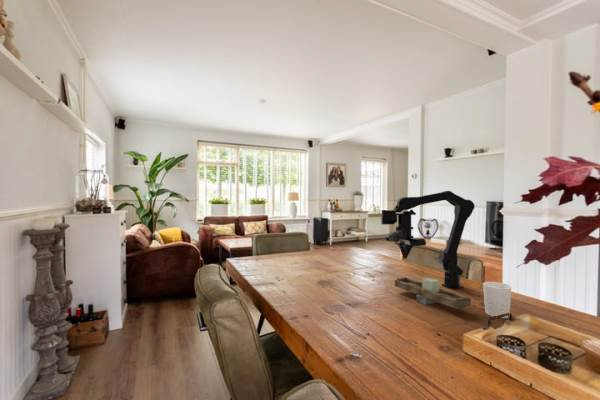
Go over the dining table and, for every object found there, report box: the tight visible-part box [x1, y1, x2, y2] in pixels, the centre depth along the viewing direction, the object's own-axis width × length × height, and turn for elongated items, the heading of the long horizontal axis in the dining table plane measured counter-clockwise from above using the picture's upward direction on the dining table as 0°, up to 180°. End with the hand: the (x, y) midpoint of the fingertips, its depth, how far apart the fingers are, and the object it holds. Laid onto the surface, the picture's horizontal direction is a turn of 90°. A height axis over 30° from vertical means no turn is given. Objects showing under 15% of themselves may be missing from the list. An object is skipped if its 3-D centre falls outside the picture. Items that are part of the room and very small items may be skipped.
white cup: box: [482, 281, 512, 319], centre depth 95 cm, size 8×8×10 cm
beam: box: [394, 276, 472, 310], centre depth 108 cm, size 28×9×6 cm, turn 27°
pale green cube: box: [421, 277, 440, 293], centre depth 107 cm, size 4×4×4 cm
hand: (405, 258), depth 128 cm, fingers closed
